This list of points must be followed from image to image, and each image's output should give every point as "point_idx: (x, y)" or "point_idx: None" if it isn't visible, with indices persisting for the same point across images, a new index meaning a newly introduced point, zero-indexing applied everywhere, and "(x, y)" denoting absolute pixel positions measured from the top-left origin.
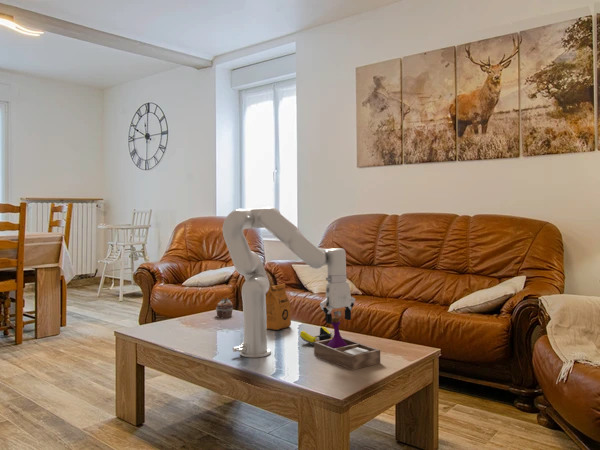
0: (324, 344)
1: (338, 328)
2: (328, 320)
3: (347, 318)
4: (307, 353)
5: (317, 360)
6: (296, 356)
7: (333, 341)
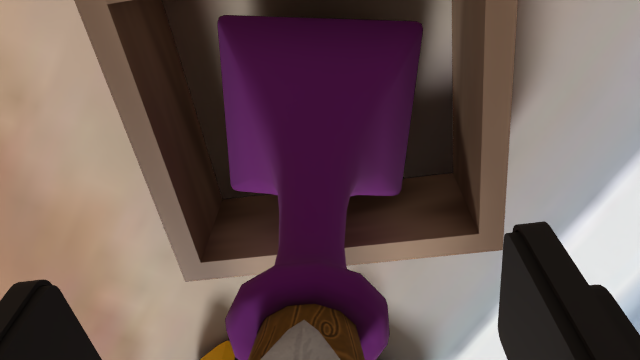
0: (390, 222)
1: (283, 238)
2: (595, 294)
3: (69, 337)
4: None
5: (558, 35)
6: (616, 201)
7: (379, 130)
